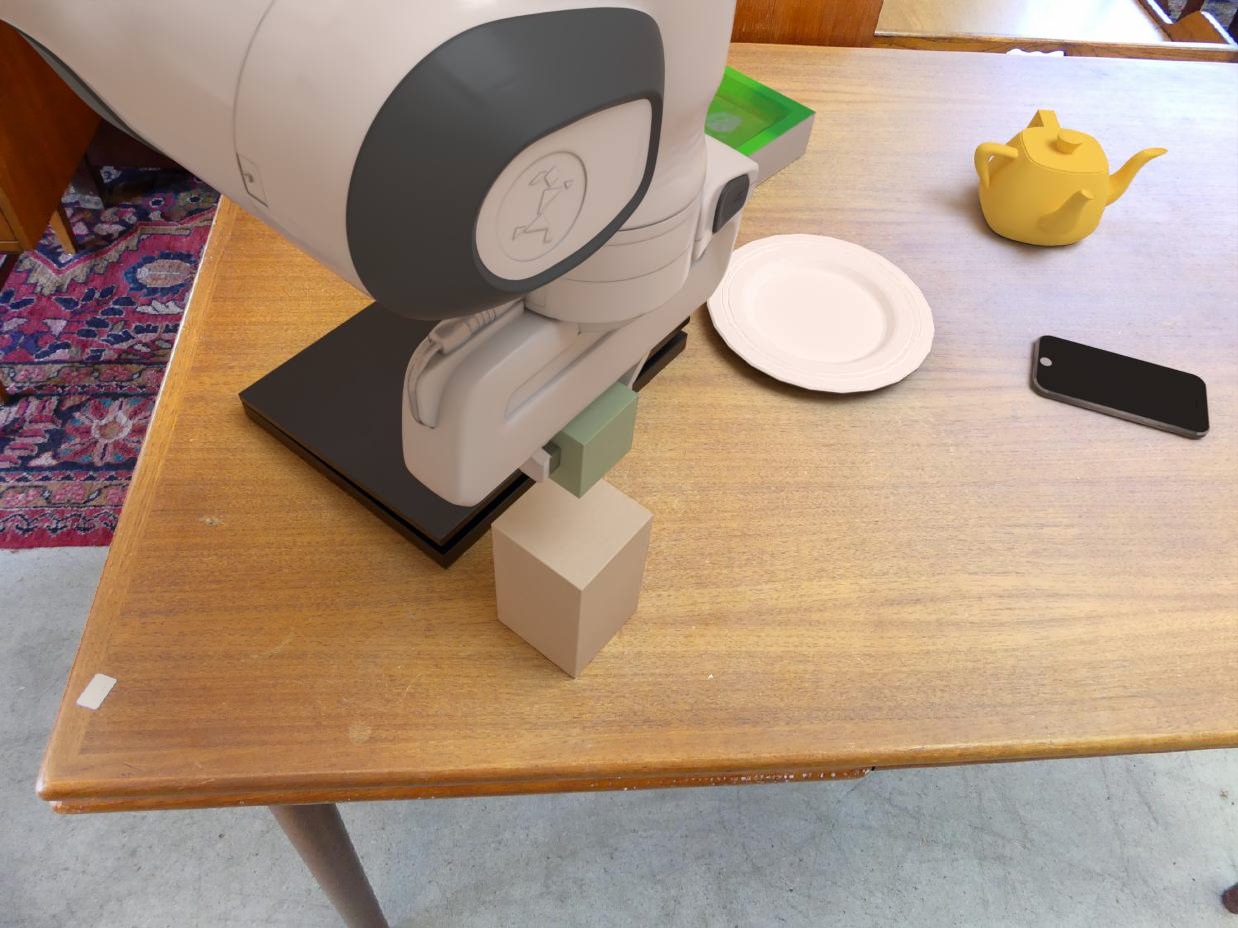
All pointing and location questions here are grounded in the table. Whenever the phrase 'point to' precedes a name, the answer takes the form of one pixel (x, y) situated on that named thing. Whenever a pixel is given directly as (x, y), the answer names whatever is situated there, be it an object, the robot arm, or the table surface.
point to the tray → (758, 123)
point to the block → (596, 439)
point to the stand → (569, 568)
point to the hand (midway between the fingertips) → (575, 435)
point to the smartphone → (1121, 386)
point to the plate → (821, 314)
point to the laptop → (486, 516)
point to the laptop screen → (365, 412)
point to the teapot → (1050, 182)
